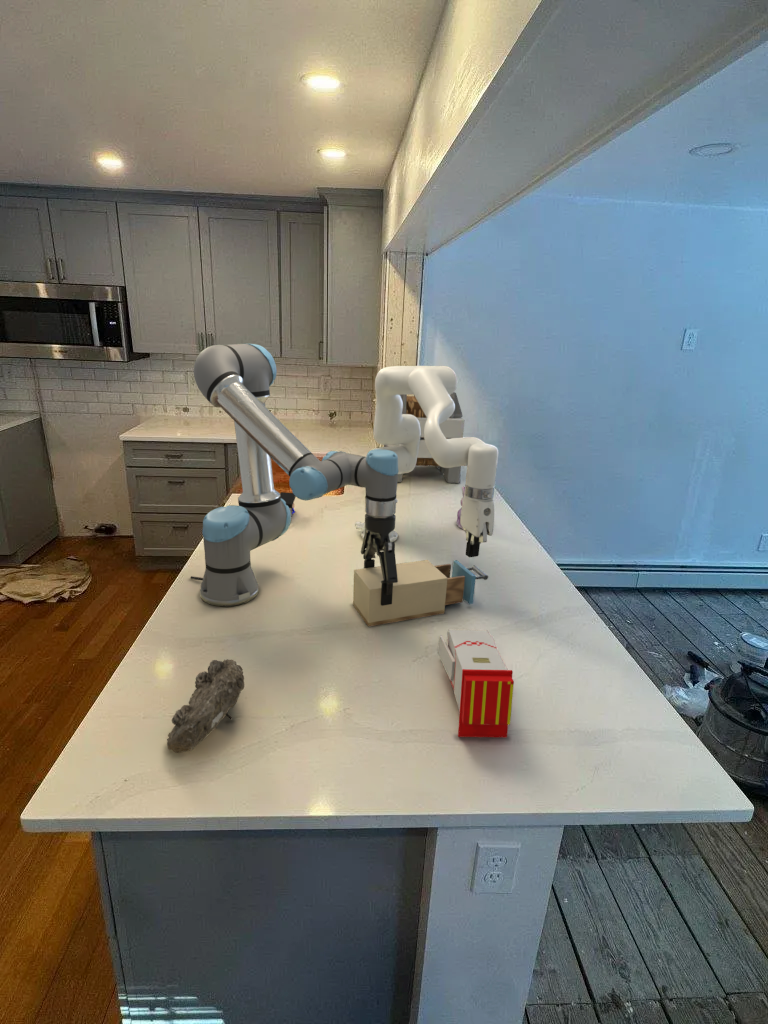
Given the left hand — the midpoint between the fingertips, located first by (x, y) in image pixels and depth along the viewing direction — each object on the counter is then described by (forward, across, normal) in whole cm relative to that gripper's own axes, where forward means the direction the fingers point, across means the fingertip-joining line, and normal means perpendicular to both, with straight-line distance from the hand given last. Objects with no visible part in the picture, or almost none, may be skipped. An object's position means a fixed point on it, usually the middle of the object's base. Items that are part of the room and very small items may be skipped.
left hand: (377, 593), depth 146 cm
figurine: (+6, +49, -56) cm, 74 cm away
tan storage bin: (+6, 0, -6) cm, 8 cm away
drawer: (+5, 0, -18) cm, 19 cm away
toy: (+6, -36, -7) cm, 37 cm away
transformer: (+6, +118, -69) cm, 137 cm away
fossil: (+6, -27, +44) cm, 52 cm away
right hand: (-7, 0, -28) cm, 28 cm away
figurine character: (+6, +76, +6) cm, 76 cm away
